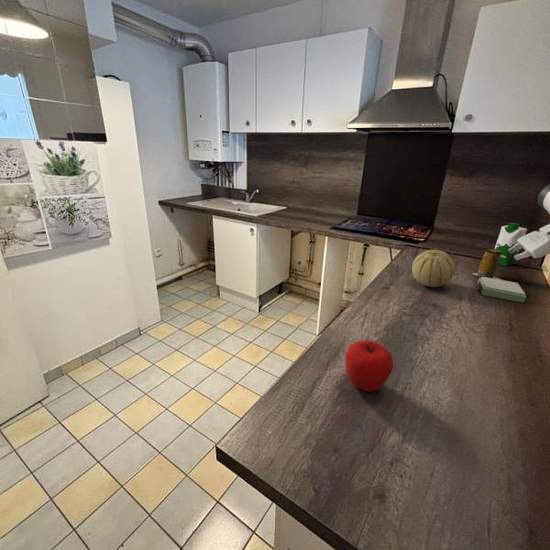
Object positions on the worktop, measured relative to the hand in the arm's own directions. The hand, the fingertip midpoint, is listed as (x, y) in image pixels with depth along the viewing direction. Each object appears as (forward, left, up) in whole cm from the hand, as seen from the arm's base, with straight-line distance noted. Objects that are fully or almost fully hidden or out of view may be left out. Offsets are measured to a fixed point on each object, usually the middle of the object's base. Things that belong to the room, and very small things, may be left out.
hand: (511, 255), depth 119 cm
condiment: (+6, -1, -12) cm, 13 cm away
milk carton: (-4, -27, -12) cm, 30 cm away
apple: (+42, +90, -12) cm, 100 cm away
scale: (+4, +15, -11) cm, 19 cm away
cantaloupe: (+29, +22, -12) cm, 38 cm away
